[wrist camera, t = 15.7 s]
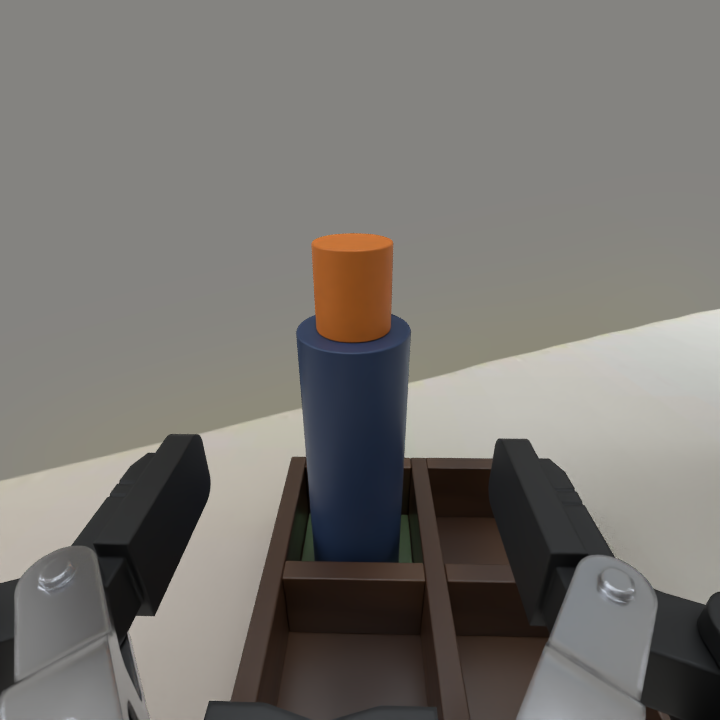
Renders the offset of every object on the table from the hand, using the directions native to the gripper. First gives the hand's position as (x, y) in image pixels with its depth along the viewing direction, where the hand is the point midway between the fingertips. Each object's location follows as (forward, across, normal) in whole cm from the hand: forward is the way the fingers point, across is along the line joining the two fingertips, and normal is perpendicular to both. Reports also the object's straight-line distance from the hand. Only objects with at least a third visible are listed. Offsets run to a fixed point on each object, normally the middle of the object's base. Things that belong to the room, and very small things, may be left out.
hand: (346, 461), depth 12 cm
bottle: (+5, 0, +10) cm, 11 cm away
